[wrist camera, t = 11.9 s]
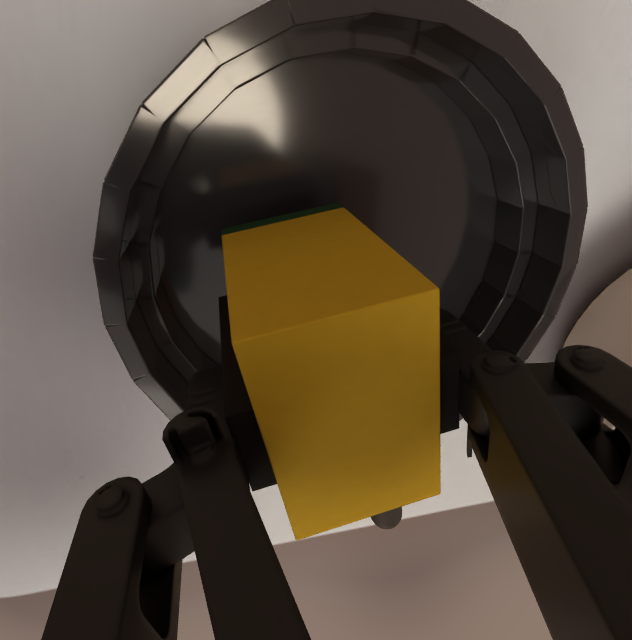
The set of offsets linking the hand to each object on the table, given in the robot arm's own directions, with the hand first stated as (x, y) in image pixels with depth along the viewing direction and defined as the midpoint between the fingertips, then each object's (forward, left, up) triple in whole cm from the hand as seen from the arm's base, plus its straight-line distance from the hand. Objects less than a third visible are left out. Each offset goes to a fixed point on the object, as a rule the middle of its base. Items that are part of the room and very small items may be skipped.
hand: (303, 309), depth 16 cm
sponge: (0, 0, -1) cm, 1 cm away
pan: (0, +3, -5) cm, 5 cm away
